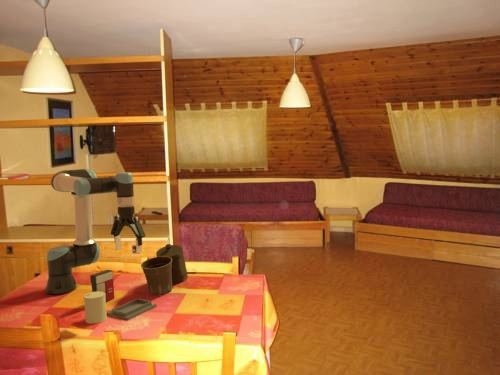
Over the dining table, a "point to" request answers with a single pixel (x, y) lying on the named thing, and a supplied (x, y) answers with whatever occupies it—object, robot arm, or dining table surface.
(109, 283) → the red and grey box
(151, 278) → the plant pot
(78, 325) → the dining table surface
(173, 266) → the wooden container
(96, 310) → the can
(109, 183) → the robot arm
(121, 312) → the tray
